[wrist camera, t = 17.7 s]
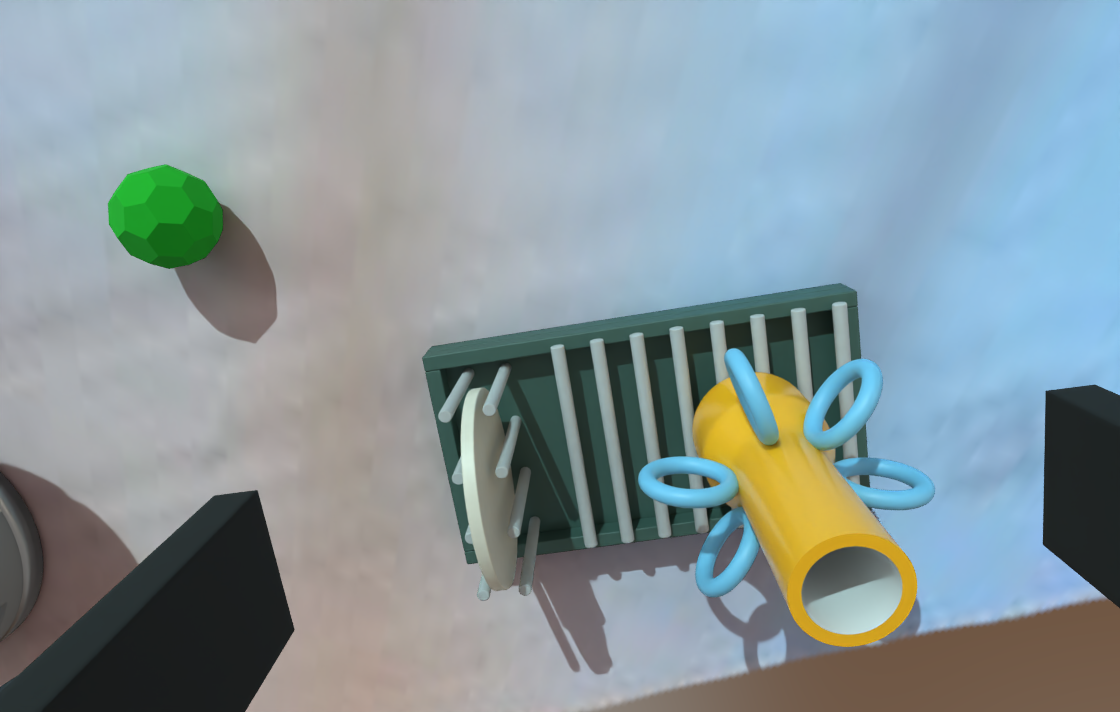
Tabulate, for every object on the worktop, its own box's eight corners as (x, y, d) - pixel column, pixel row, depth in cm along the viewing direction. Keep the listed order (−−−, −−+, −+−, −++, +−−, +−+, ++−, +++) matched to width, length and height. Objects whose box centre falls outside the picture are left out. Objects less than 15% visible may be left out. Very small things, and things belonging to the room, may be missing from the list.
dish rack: (473, 543, 44) (437, 665, 33) (431, 346, 41) (376, 411, 30) (856, 492, 42) (946, 603, 31) (840, 282, 39) (935, 328, 28)
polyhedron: (163, 268, 40) (107, 282, 35) (132, 176, 39) (70, 178, 34) (251, 250, 40) (206, 261, 35) (222, 156, 38) (172, 155, 34)
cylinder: (763, 567, 40) (864, 800, 25) (599, 469, 39) (606, 653, 24) (910, 383, 37) (1118, 526, 22) (737, 271, 36) (839, 345, 21)
